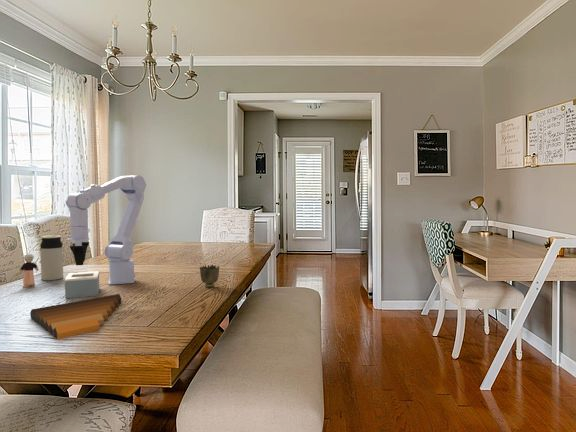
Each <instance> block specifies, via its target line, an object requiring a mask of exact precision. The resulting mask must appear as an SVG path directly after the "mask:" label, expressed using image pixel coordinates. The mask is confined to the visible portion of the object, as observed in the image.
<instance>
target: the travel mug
mask: <svg viewBox="0 0 576 432" xmlns="http://www.w3.org/2000/svg"><path fill="white" fill-rule="evenodd" d="M40 239H41V243H40V244H39V245H40V246H39V247H40V270H41V271H40V274H41V280H42V281H47V280H48V281H57V280H61V279H63V278H64V255H63V251H64V250H63V243H62V241H61V239H62V235H61V234H55V235H54V234H53V235H52V234H51V235H50V234H49V235H42V236H40Z"/></svg>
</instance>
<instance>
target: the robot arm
mask: <svg viewBox="0 0 576 432" xmlns="http://www.w3.org/2000/svg"><path fill="white" fill-rule="evenodd" d="M146 188H147V183H146V180H145V178H144V177H143V175H140V174H136V175H125V174H124V175H121V176H117V177H116V178H114V179H112V180H110V181H107V182H105V183H103V184H102V185H99V184H94V183H93V184H90V185H89V187H87V188H84V189H80V190H79V191H78V193H77V192H71V193H70V194H69V195H68V196H67V198H66V200H65V204H66V206H67V208H68V212H69V224H70V225H69V226H70V227H69V228H70V238H66V241H67V242H72V244H71V245H69V248H70V250H71V252H72V256H73V258H74V262H75V265H76V266H83V265H84V263H85V261H86V256H87V255H86V253H87V249H88V246H89V244H90V241H89V240H90V237H89V217H88V216H89V214H88V213H89V210H88V209H89V208H90V207H91V205H92V204H94V203H96V202H99V201H101V200H102V199H104V198H105V196H106V194H108V193H111V192H113V191H116V190H120V191H121V192H122V193H123V194H124V195H125V197H126V198H127V200H128V201H127V204H126V206H125V208H124V211H123V212H124V213H123V215H122V218H121V221H120V224H119V227H118V230H117V233H116V235H114V236H112V238H111V239H110V240H109V242H108V244H107V245H106V246H105V248H104V254H105V257H106V258H107V261H108V262H109V263H108V265H109V266H108V267H109V272H108V273H109V279H108V285H109V286H110V285H120V284H121V285H122V284H134V283H135V278H136V273H135V264H134V263H135V262H134V261H135V260H134V259H131V257H132V256H133V252H134V251H133V250H134V249H133V248H134V245H135V243H134V242H133V241H132V235H133V231H134V228H135V227H136V223H137V219H138V217H139V213H140V212H141V208H142V206H143V203H144V197H145V195H144V193H145V189H146Z"/></svg>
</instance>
